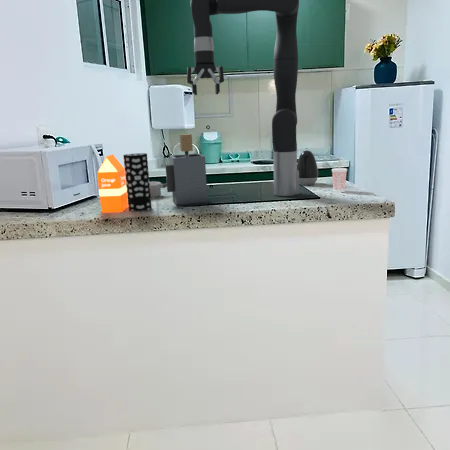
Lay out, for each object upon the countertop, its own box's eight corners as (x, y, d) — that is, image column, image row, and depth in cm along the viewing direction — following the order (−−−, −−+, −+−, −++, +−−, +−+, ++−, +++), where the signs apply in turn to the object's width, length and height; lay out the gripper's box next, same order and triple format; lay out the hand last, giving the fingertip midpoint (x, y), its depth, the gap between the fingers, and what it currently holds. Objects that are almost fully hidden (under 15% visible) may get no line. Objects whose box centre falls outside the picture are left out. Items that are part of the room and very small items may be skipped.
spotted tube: (141, 212, 158) (135, 155, 153) (124, 210, 163) (118, 155, 158) (156, 207, 165) (151, 153, 160) (139, 205, 170) (134, 153, 165)
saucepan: (182, 196, 184) (181, 183, 183) (133, 200, 182) (132, 186, 180) (181, 192, 195) (180, 179, 194) (135, 195, 193) (134, 182, 191)
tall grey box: (201, 198, 178) (199, 153, 173) (207, 204, 167) (204, 156, 162) (166, 202, 175) (163, 155, 170) (170, 207, 164) (166, 158, 159)
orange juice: (101, 212, 161) (94, 157, 156) (108, 207, 169) (102, 154, 164) (122, 212, 160) (116, 156, 155) (128, 206, 169) (123, 153, 164)
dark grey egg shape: (295, 186, 196) (294, 151, 192) (295, 182, 206) (295, 149, 202) (318, 186, 194) (319, 151, 190) (317, 182, 204) (318, 148, 200)
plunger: (199, 196, 176) (195, 133, 170) (203, 201, 167) (199, 134, 161) (176, 198, 174) (171, 134, 168) (179, 203, 165) (174, 135, 159)
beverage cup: (329, 191, 180) (329, 157, 177) (334, 189, 185) (334, 155, 182) (344, 192, 177) (345, 157, 173) (348, 190, 182) (349, 155, 178)
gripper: (219, 51, 176) (221, 94, 180) (184, 52, 172) (186, 95, 177) (224, 49, 168) (226, 93, 172) (187, 49, 165) (189, 95, 169)
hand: (206, 94), depth 175 cm, fingers open, 8 cm apart
